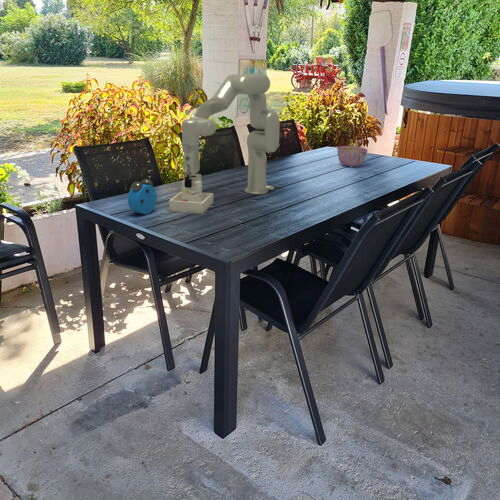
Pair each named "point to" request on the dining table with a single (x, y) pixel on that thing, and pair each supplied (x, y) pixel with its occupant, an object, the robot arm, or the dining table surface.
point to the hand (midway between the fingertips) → (191, 185)
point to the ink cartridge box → (193, 190)
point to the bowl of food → (351, 155)
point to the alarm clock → (142, 197)
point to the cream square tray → (190, 204)
